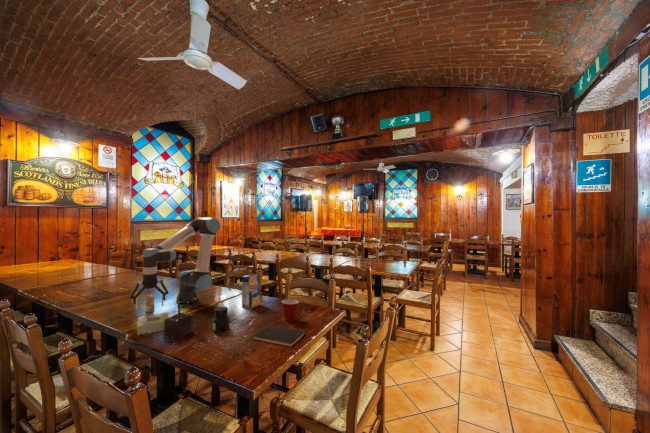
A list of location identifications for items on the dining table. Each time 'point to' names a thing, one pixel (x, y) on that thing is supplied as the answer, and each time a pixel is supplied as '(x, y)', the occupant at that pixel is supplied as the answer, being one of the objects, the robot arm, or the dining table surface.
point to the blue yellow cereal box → (250, 290)
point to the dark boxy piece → (180, 322)
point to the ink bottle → (221, 320)
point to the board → (151, 323)
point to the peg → (149, 305)
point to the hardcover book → (279, 335)
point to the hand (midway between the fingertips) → (149, 307)
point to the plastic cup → (289, 309)
